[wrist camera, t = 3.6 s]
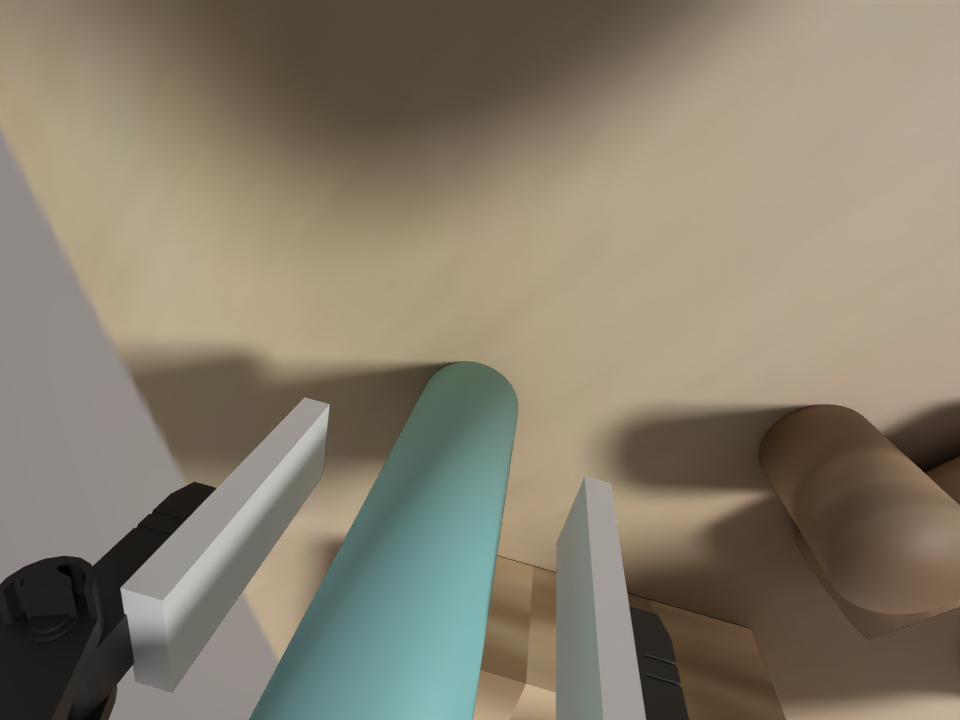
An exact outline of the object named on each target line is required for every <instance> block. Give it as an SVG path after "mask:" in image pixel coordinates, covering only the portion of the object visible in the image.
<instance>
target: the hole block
mask: <svg viewBox="0 0 960 720" xmlns="http://www.w3.org/2000/svg"><path fill="white" fill-rule="evenodd" d="M556 575H557V573H554V572H551V571H548V570H544V569H541V568H537V567H534V566H530V565H527V564H523V563H520V562H516V561H513V560H509V559H506V558H502V557H499V556H497V559H496V566H495V573H494V580H493V587H492V593H491V600H490V607H489V614H488V621H487V628H486V634H485V641H484V648H483V655H482V662H481V669H480V675H479V682H478V689H477V696H476V703H475V710H474V716H473V720H556ZM627 595H628V602H629V606H631V607H634V608H638V609H641V610H645V611H648V612H652V613H655V614H658V616H659V618H660V619H661V621H662V623H663V625H664V626H665V628H666V630H667V632H668V633H669V635H670V637H671V640H672V645H673V649H674V654H675V658H676V667H678V672H679V676H680V681H681V683H680V687H682V690H683V694H684V699H685V703H686V708H687V712H688V717H689V720H786V719H785V716H784V713H783V711H782V708H781V706H780V703H779V701H778V698H777V695H776V693H775V690H774V688H773V685H772V683H771V680H770V677H769V675H768V672H767V670H766V667H765V665H764V662H763V659H762V657H761V654H760V652H759V649H758V647H757V644H756V641H755V639H754V636H753V634H752V631H751V629H749V628H745V627H742V626H738V625H735V624H731V623H728V622H725V621H721V620H718V619H714V618H711V617H707V616H704V615H700V614H697V613H693V612H690V611H686V610H683V609H679V608H676V607H672V606H669V605H666V604H662V603H659V602H655V601H652V600H648V599H645V598H641V597H638V596H634V595H631V594H627Z"/></svg>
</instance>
